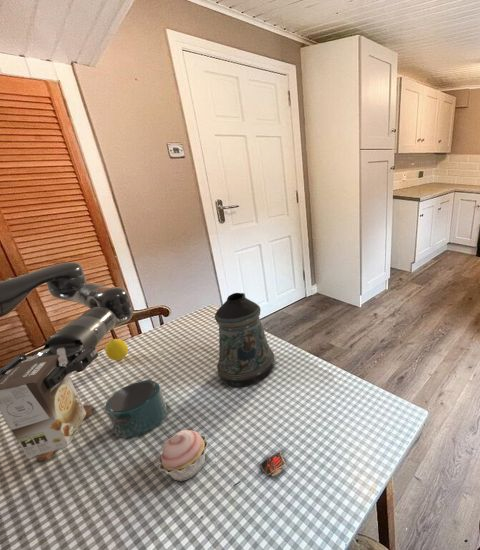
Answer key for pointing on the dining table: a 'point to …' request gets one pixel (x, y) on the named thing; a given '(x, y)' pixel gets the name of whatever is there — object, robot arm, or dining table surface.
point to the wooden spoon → (47, 455)
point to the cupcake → (183, 455)
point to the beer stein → (242, 343)
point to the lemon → (116, 349)
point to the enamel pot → (136, 408)
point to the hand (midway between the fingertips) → (22, 388)
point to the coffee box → (40, 407)
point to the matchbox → (273, 464)
